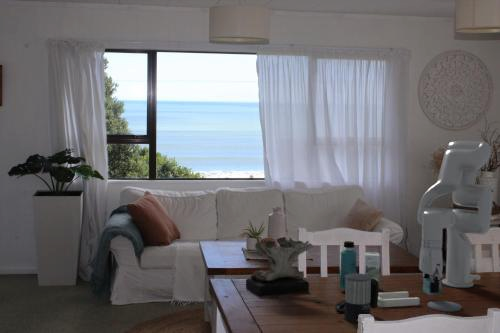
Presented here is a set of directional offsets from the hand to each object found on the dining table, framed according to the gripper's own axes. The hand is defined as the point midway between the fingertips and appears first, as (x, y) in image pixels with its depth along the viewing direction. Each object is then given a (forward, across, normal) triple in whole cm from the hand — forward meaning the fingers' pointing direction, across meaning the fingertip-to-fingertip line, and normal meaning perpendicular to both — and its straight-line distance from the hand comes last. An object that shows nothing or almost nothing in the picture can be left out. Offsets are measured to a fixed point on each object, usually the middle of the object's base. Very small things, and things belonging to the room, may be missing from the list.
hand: (430, 290), depth 248 cm
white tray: (+4, 0, -15) cm, 15 cm away
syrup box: (+4, -20, -16) cm, 25 cm away
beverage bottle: (+4, -18, -27) cm, 32 cm away
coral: (+4, -22, -52) cm, 56 cm away
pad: (+4, +10, 0) cm, 10 cm away
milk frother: (+3, +13, -37) cm, 40 cm away
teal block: (+1, 0, +1) cm, 1 cm away
